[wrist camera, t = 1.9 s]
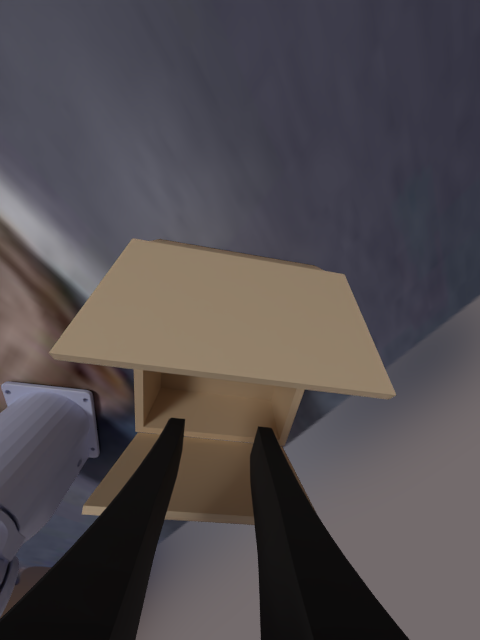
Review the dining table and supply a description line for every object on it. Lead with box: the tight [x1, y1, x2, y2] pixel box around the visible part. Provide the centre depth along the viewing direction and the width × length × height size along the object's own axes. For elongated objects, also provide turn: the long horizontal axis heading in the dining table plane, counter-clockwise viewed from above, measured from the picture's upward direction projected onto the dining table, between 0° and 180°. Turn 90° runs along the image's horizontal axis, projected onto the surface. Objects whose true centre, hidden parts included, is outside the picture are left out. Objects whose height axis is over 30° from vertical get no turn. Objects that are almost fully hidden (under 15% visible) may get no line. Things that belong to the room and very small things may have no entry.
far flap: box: [82, 432, 314, 525], centre depth 14 cm, size 7×12×1 cm
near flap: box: [49, 239, 396, 399], centre depth 10 cm, size 7×12×1 cm
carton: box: [134, 239, 324, 446], centre depth 17 cm, size 14×12×5 cm
